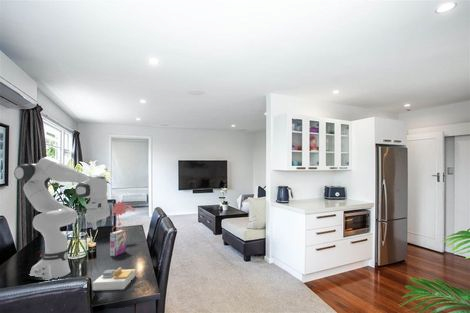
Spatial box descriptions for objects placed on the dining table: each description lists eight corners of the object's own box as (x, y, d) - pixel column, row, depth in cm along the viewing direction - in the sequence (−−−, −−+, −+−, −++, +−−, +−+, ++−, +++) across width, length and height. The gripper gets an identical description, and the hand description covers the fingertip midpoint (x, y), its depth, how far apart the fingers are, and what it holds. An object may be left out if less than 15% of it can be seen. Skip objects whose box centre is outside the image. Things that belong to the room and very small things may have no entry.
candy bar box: (115, 256, 185) (115, 233, 186) (109, 256, 187) (109, 233, 187) (126, 251, 196) (125, 229, 197) (120, 251, 197) (120, 229, 198)
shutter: (113, 278, 137) (113, 272, 138) (120, 271, 146) (120, 266, 147) (126, 278, 138) (126, 272, 138) (132, 271, 147) (132, 265, 147)
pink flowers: (101, 243, 220) (101, 202, 221) (130, 237, 239) (130, 199, 240) (108, 247, 210) (108, 204, 211) (138, 240, 229) (138, 200, 230)
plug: (102, 285, 139) (102, 273, 140) (106, 281, 144) (106, 269, 144) (111, 285, 139) (111, 272, 140) (115, 281, 144) (114, 269, 144)
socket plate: (92, 290, 134) (92, 282, 134) (107, 277, 150) (107, 270, 150) (123, 289, 134) (123, 281, 134) (135, 276, 150) (135, 269, 150)
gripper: (102, 201, 161) (102, 223, 160) (83, 206, 140) (83, 231, 140) (112, 200, 161) (112, 223, 160) (95, 205, 140) (95, 231, 140)
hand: (99, 227), depth 150 cm, fingers open, 8 cm apart
